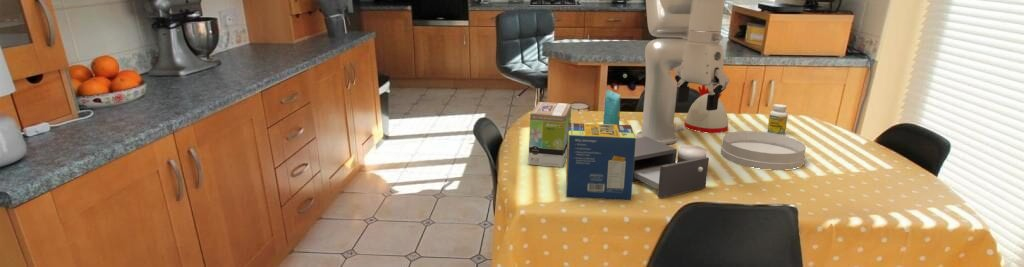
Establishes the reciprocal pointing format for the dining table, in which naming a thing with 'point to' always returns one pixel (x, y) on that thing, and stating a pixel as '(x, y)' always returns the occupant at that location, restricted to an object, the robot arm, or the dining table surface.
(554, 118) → the tea box
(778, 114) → the supplement bottle
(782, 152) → the dish
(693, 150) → the disc
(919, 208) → the dining table surface
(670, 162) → the housing
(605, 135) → the protein box
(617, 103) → the tube
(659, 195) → the drawer
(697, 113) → the hen dome cover
